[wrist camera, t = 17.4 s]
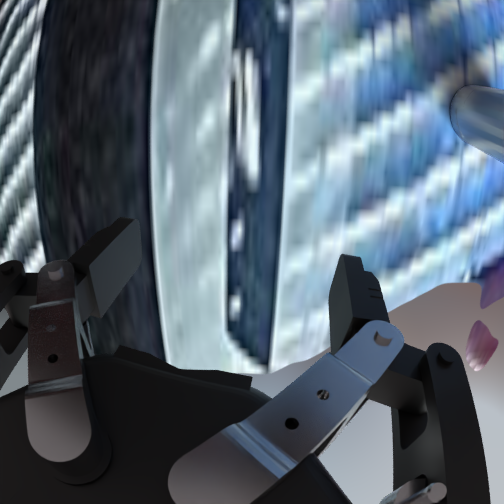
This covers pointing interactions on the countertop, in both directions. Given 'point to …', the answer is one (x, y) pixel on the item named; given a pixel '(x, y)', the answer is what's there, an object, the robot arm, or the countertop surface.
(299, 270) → the countertop surface
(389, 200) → the countertop surface
